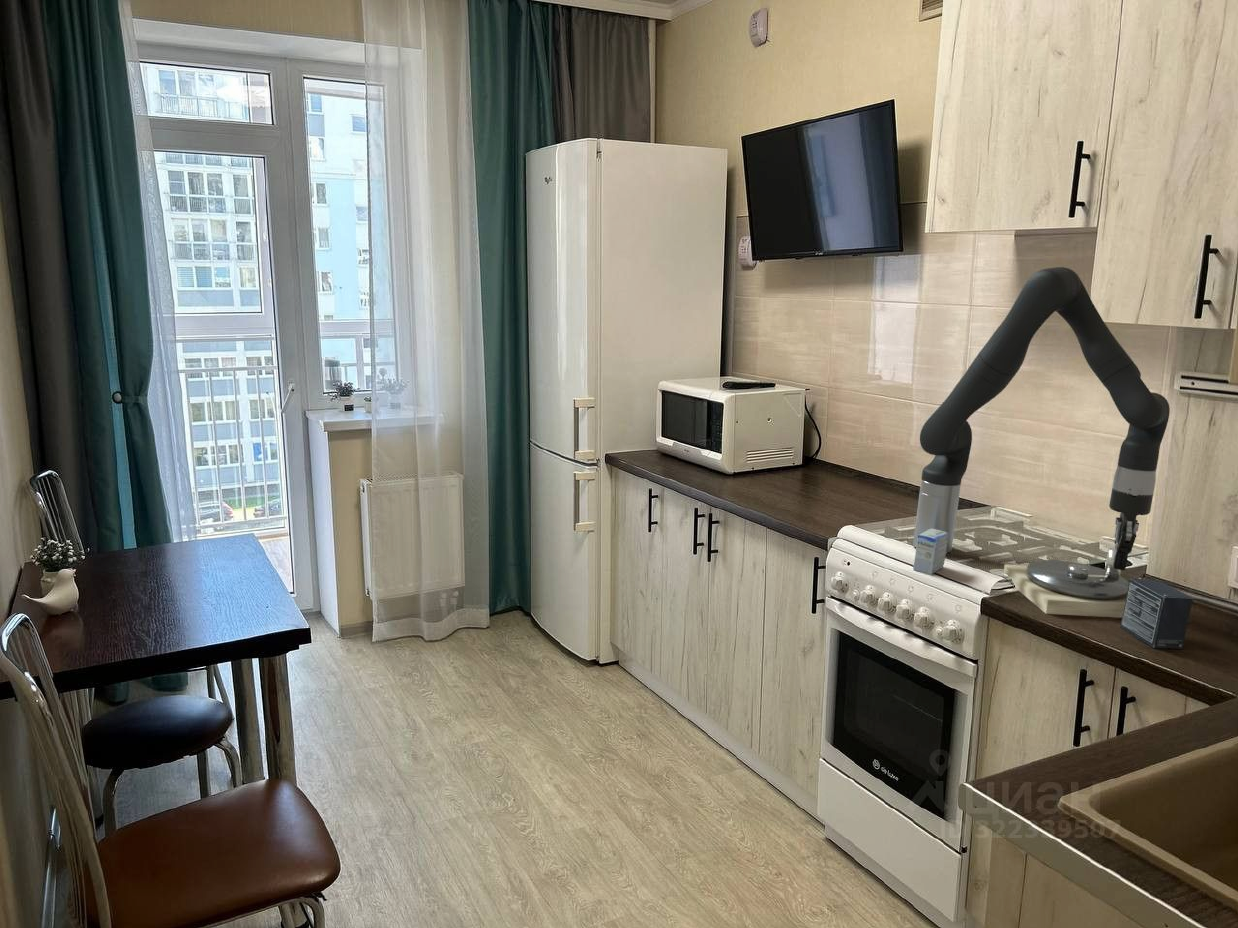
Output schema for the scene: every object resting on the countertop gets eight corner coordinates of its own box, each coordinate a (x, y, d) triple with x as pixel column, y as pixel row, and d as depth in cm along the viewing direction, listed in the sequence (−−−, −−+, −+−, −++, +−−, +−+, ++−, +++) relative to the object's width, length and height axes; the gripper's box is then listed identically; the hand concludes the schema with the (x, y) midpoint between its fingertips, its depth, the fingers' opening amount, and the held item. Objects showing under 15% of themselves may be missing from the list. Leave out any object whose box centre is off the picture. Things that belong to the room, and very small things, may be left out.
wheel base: (1002, 576, 207) (1004, 564, 207) (1098, 582, 207) (1100, 569, 207) (1045, 613, 186) (1048, 600, 185) (1152, 619, 186) (1155, 605, 185)
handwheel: (1053, 597, 186) (1059, 562, 184) (1010, 564, 205) (1015, 533, 204) (1149, 601, 187) (1155, 566, 185) (1096, 568, 206) (1102, 536, 204)
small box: (1185, 650, 171) (1196, 597, 169) (1153, 649, 171) (1163, 597, 168) (1149, 627, 182) (1159, 578, 179) (1118, 627, 181) (1127, 577, 179)
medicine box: (925, 562, 215) (930, 527, 213) (944, 567, 212) (949, 532, 210) (912, 570, 209) (917, 534, 207) (931, 575, 206) (936, 538, 204)
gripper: (1109, 480, 195) (1096, 557, 199) (1115, 492, 183) (1101, 574, 187) (1149, 485, 192) (1135, 563, 196) (1157, 498, 180) (1142, 581, 184)
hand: (1119, 568), depth 191 cm, fingers closed
